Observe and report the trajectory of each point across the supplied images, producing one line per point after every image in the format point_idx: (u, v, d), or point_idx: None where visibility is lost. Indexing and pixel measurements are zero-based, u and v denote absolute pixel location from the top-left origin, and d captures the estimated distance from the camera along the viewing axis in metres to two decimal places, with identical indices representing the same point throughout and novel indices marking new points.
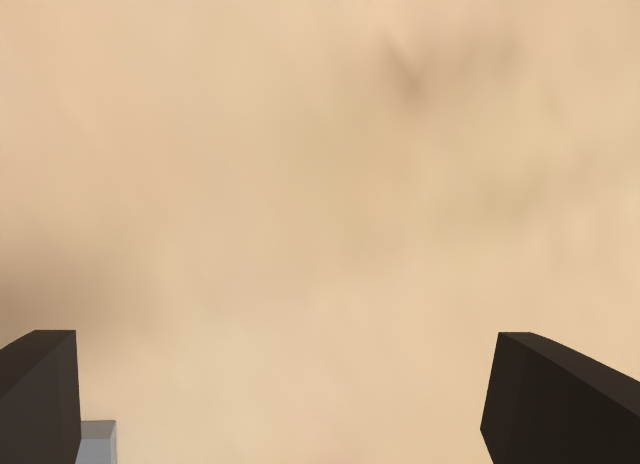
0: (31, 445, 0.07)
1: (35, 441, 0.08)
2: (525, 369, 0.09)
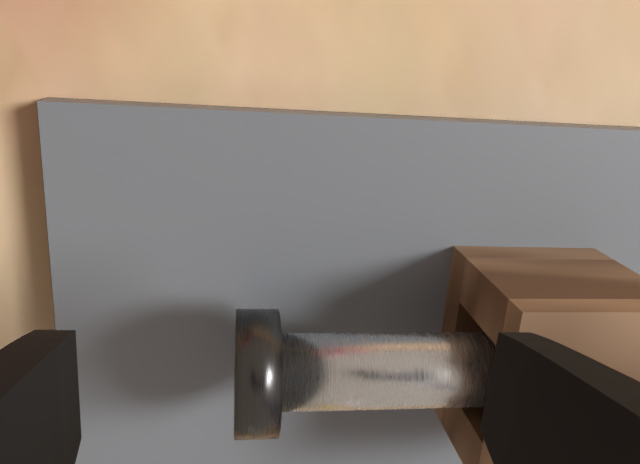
0: (31, 445, 0.07)
1: (35, 441, 0.08)
2: (525, 369, 0.09)
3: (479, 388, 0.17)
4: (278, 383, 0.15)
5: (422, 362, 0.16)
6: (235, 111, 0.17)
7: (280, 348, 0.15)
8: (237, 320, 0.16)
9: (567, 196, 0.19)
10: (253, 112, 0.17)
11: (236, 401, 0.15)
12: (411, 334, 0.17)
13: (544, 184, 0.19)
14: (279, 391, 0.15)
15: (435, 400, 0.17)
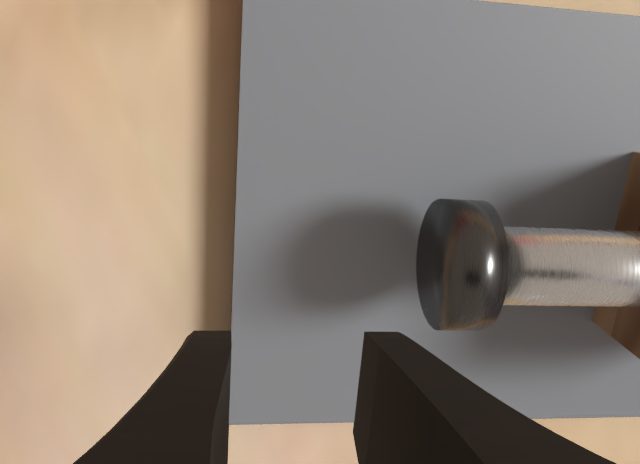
0: (222, 440, 0.08)
1: (223, 437, 0.08)
2: (378, 370, 0.09)
3: None
4: (504, 263, 0.15)
5: (632, 254, 0.16)
6: None
7: (502, 230, 0.15)
8: (451, 204, 0.15)
9: None
10: None
11: (463, 280, 0.14)
12: (610, 230, 0.17)
13: None
14: (505, 271, 0.15)
15: None
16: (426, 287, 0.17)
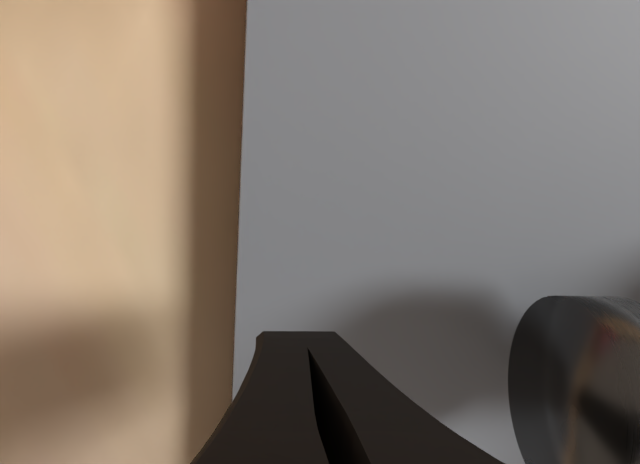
0: None
1: None
2: None
3: None
4: None
5: None
6: None
7: None
8: (590, 314, 0.09)
9: None
10: None
11: (627, 456, 0.08)
12: None
13: None
14: None
15: None
16: (531, 426, 0.11)
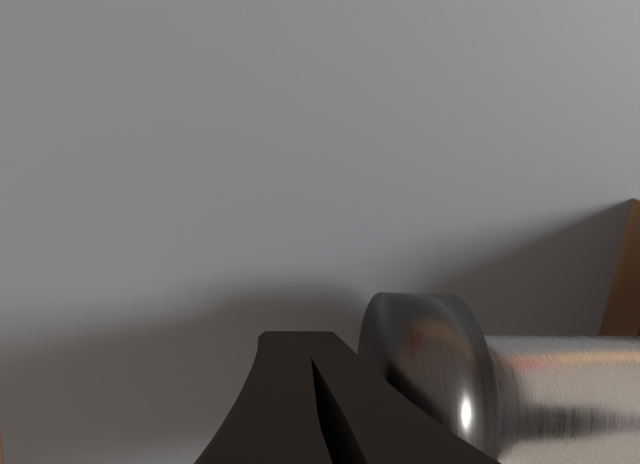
0: None
1: None
2: None
3: None
4: (491, 429, 0.08)
5: None
6: None
7: (487, 363, 0.08)
8: (399, 311, 0.09)
9: None
10: None
11: None
12: None
13: None
14: (492, 444, 0.08)
15: None
16: None
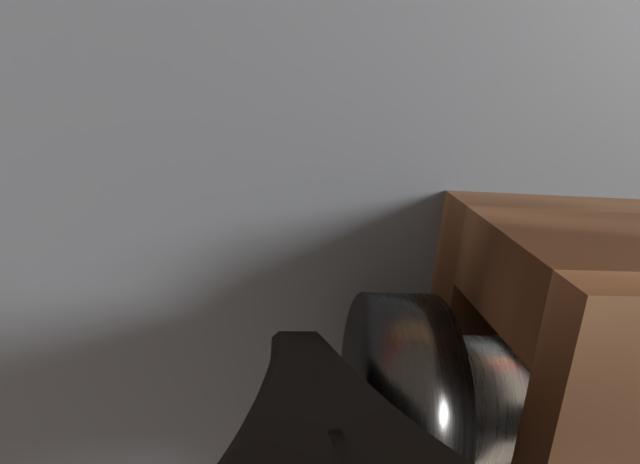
0: None
1: None
2: None
3: None
4: (468, 429, 0.08)
5: None
6: None
7: (465, 363, 0.08)
8: (378, 311, 0.09)
9: (637, 110, 0.11)
10: None
11: None
12: None
13: (600, 87, 0.11)
14: (469, 444, 0.08)
15: None
16: None
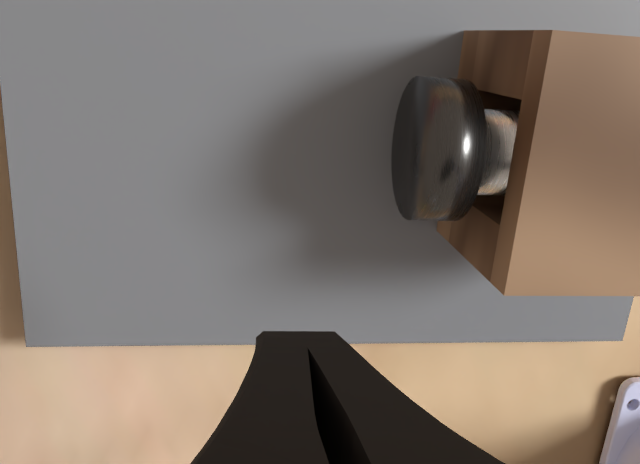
0: None
1: None
2: None
3: None
4: (481, 134, 0.13)
5: None
6: None
7: (479, 100, 0.14)
8: (424, 77, 0.14)
9: None
10: None
11: (437, 151, 0.13)
12: None
13: None
14: (482, 143, 0.13)
15: None
16: (401, 180, 0.16)
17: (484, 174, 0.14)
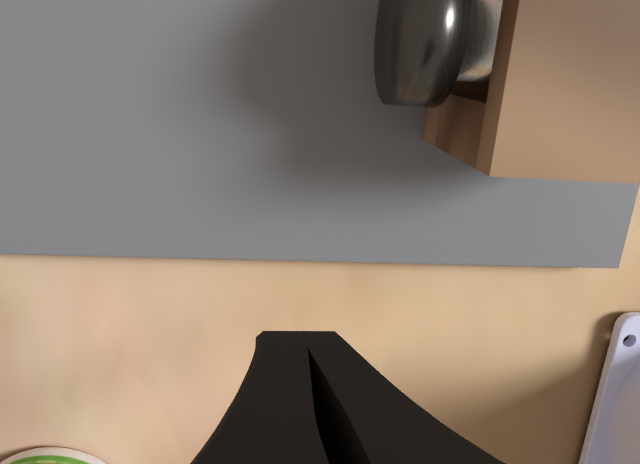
0: None
1: None
2: None
3: None
4: None
5: None
6: None
7: None
8: None
9: None
10: None
11: (417, 12, 0.12)
12: None
13: None
14: (467, 6, 0.12)
15: None
16: (383, 67, 0.15)
17: (470, 49, 0.13)
